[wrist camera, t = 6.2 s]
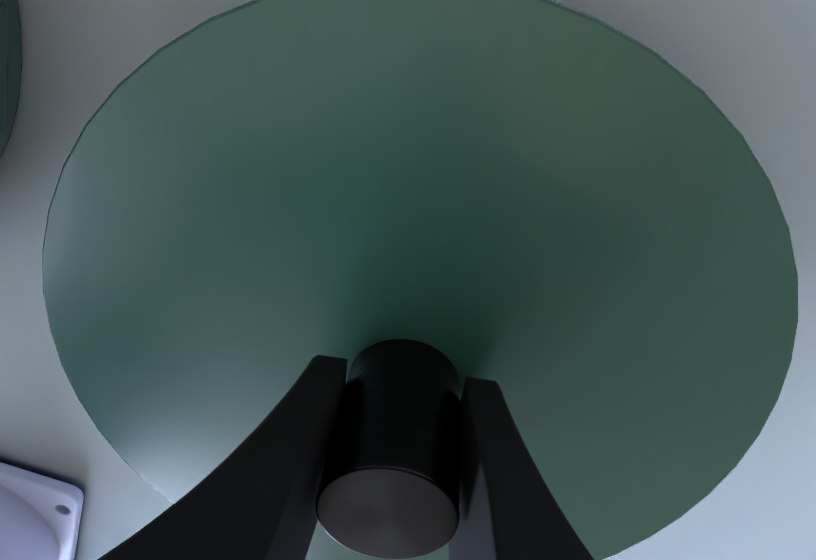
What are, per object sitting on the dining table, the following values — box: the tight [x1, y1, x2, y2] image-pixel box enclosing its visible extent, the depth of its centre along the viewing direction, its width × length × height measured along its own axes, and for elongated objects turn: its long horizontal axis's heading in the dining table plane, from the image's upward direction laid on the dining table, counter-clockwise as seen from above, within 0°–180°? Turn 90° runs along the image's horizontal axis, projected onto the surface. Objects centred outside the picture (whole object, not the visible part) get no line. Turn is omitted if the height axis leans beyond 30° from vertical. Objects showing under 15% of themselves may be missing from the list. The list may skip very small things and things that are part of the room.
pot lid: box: [43, 0, 798, 560], centre depth 11 cm, size 15×15×4 cm
